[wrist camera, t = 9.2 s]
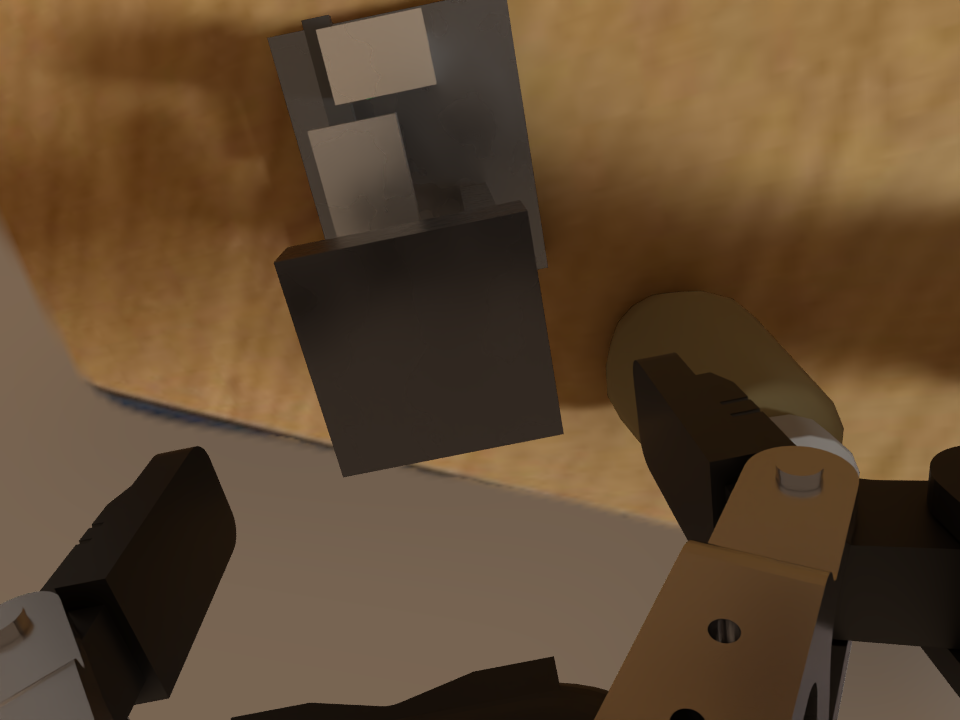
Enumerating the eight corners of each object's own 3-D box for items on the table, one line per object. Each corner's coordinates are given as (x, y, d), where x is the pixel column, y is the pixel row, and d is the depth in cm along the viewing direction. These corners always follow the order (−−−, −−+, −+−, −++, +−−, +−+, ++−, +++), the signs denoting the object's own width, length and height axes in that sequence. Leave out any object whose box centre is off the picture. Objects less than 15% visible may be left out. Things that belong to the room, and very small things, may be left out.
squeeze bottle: (559, 338, 35) (666, 564, 19) (681, 238, 34) (919, 390, 17) (646, 435, 38) (806, 706, 22) (763, 346, 36) (1037, 568, 20)
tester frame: (541, 257, 34) (592, 343, 23) (350, 296, 34) (307, 399, 23) (500, -7, 29) (539, -61, 18) (278, 40, 29) (180, 16, 18)
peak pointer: (368, 166, 27) (366, 167, 26) (344, 170, 27) (341, 172, 26) (330, 16, 25) (328, 15, 24) (304, 21, 25) (301, 20, 24)
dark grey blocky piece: (520, 312, 27) (563, 433, 18) (375, 341, 27) (343, 477, 18) (481, 93, 23) (509, 100, 14) (316, 127, 24) (239, 156, 14)
